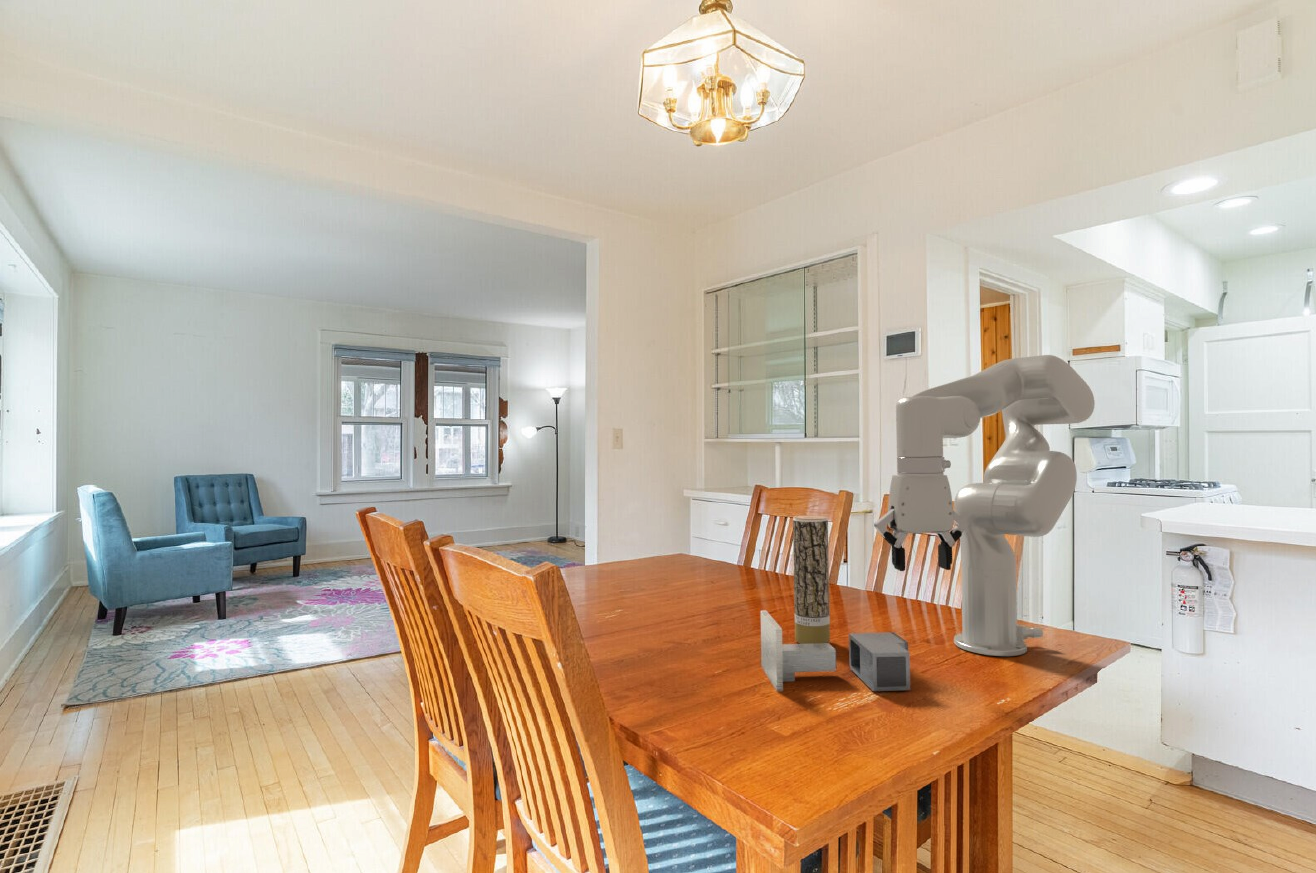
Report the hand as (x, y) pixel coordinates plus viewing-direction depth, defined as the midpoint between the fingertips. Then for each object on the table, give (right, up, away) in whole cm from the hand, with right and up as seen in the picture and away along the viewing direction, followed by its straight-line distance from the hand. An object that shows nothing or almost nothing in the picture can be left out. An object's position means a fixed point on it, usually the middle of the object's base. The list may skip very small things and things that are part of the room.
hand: (922, 568), depth 114 cm
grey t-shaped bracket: (-22, -18, -2) cm, 28 cm away
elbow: (-8, -18, -4) cm, 20 cm away
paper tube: (-15, -18, +17) cm, 29 cm away
